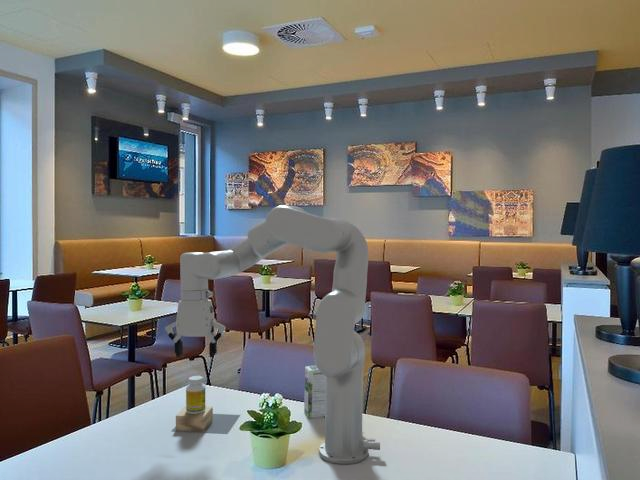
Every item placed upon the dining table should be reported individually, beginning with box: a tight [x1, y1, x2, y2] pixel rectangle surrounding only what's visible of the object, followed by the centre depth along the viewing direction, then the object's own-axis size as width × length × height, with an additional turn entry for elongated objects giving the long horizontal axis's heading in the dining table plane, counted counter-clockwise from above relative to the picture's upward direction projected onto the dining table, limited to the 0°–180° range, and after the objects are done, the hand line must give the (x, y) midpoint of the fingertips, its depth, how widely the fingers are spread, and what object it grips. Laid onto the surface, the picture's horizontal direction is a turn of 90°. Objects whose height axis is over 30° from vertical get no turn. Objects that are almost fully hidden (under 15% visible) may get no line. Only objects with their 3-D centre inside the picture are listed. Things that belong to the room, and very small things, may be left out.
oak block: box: [175, 405, 214, 431], centre depth 144 cm, size 8×8×4 cm
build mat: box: [171, 413, 241, 435], centre depth 146 cm, size 16×14×1 cm
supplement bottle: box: [185, 375, 206, 414], centre depth 144 cm, size 5×5×10 cm
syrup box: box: [303, 365, 326, 419], centre depth 156 cm, size 6×6×14 cm
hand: (195, 356), depth 143 cm, fingers open, 9 cm apart
